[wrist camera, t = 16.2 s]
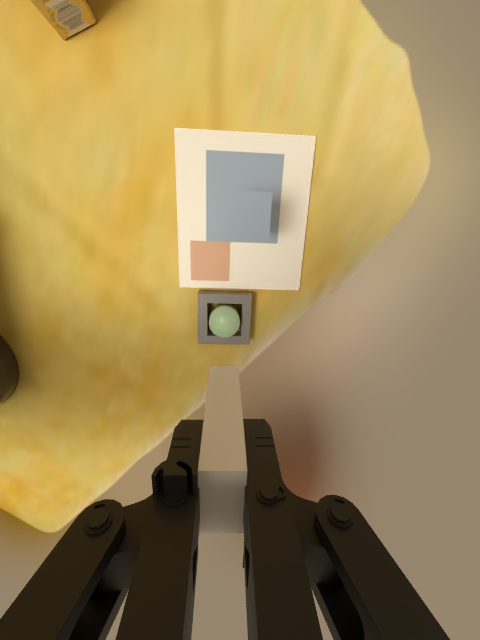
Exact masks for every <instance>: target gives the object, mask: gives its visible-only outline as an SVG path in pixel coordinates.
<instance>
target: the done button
mask: <svg viewBox="0 0 480 640" xmlns="http://www.w3.org/2000/svg"><path fill="white" fill-rule="evenodd" d="M239 326H240V319H239V313H238V310H237V309H236V308H235V307H234V306H233V305H231V304H226V303H220V304H218V305H216V306H215V307H214V308H213V309H212V311H211V313H210V318H209V327H210V329H211V331H212V332H213V333H214V334H215V335H217V336H219V337H230V336H232V335H234V334H235V333H236V332H237V331H238V329H239Z"/></svg>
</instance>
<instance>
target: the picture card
mask: <svg viewBox="0 0 480 640" xmlns="http://www.w3.org/2000/svg"><path fill="white" fill-rule="evenodd" d="M174 130H175V160H176V190H177V220H178V250H179V280H180V287H195V288H232V289H269V290H299V287H300V278H301V269H302V260H303V251H304V241H305V232H306V223H307V214H308V205H309V196H310V187H311V178H312V169H313V160H314V150H315V141H316V136H305V135H288V134H271V133H253V132H236V131H219V130H202V129H185V128H174ZM227 190H242V191H261V192H273V193H272V206H271V220H270V233H269V240H266V239H242V238H226V198H227Z"/></svg>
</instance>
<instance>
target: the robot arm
mask: <svg viewBox="0 0 480 640" xmlns="http://www.w3.org/2000/svg"><path fill="white" fill-rule="evenodd" d="M17 382H18V366H17V362H16V359H15V357H14V355H13V353H12V351H11V349H10V348H9V346H8V345H7V344H6V343H5V341H4V340H3V339H2V338H1V337H0V404H1V403H2V402H4V401H5V400H6V399H7V398H8V397H9V396H10V395H11V394H12V393H13V391H14V390H15V388H16V385H17ZM152 487H153V494H152V495H151V496H149V497H148V498H146V499H145V500H142V501H140V502H138V503H134V504H131V505H128V506H125V507H122V505H121V503H119V502H117V501H115V500H109V499H107V500H106V499H105V500H101V501H98V502H95V503H93V504H92V505H90V506H88V507H87V508H85V509H84V510H83V511H82V512H81V513H80V514H79V515H78V517H77V518H76V519H75V521H74V522H73V523H72V525H71V526H70V527H69V529H68V530H67V532H66V533H65V534H64V535H63V537H62V538H61V539H60V541H59V542H58V543H57V545H56V546H55V547H54V549H53V550H52V551H51V553H50V554H49V555H48V557H47V558H46V559H45V561H44V562H43V563H42V564H41V566H40V567H39V568H38V570H37V571H36V572H35V574H34V575H33V576H32V578H31V579H30V580H29V582H28V583H27V584H26V586H25V587H24V588H23V590H22V591H21V593H20V594H19V595H18V597H17V598H16V599H15V601H14V602H13V603H12V604H11V606H10V607H9V609H8V610H7V611H6V612H5V614H4V615H3V616H2V618H1V619H0V640H106V637H107V635H108V633H109V631H110V628H111V627H112V624H113V622H114V620H115V618H116V616H117V614H118V611H119V609H120V607H121V605H122V603H123V601H124V598H125V596H126V594H127V592H128V595H127V599H126V602H125V606H124V610H123V614H122V618H121V622H120V625H119V629H118V633H117V637H116V640H191V634H192V622H193V609H194V598H195V597H194V596H195V584H196V573H197V561H198V536H199V534H205V533H243V532H244V555H243V568H244V569H245V587H246V609H247V629H248V640H323V638H322V633H321V629H320V625H319V620H318V616H317V611H316V607H315V603H314V598H313V594H312V590H313V593H314V595H315V597H316V600H317V602H318V604H319V607H320V609H321V611H322V614H323V616H324V618H325V621H326V623H327V625H328V628H329V630H330V632H331V635H332V637H333V639H334V640H450V639H449V638H448V636H447V634H446V633H445V632H444V630H443V629H442V627H441V626H440V625H439V623H438V622H437V621H436V619H435V617H434V616H433V615H432V613H431V612H430V610H429V609H428V607H427V606H426V605H425V603H424V602H423V600H422V599H421V598H420V596H419V595H418V593H417V592H416V591H415V589H414V588H413V586H412V585H411V583H410V582H409V581H408V579H407V578H406V576H405V575H404V574H403V572H402V571H401V569H400V568H399V566H398V565H397V564H396V562H395V561H394V559H393V558H392V556H391V555H390V554H389V552H388V551H387V550H386V548H385V547H384V545H383V544H382V542H381V541H380V539H379V538H378V537H377V535H376V534H375V532H374V531H373V530H372V528H371V527H370V525H369V524H368V522H367V521H366V520H365V518H364V517H363V515H362V514H361V513H360V511H359V510H358V509H357V508H356V507H355V506H354V505H353V503H351V502H350V501H348V500H347V499H345V498H344V497H340V496H337V495H327V496H325V497H323V498H321V499H320V500H319V502H318V503H316V502H313V501H310V500H306V499H303V498H301V497H298V496H296V495H295V494H293V493H292V492H291V491H290V490H289V489H288V488H287V487H286V486H285V484H284V483H283V480H282V477H281V472H280V468H279V463H278V458H277V454H276V449H275V445H274V440H273V436H272V431H271V427H270V426H269V425H268V423H267V422H266V421H265V420H264V419H243V414H242V402H241V391H240V378H239V367H238V366H210V368H209V377H208V386H207V395H206V404H205V412H204V420H181V421H180V423H179V424H178V425H177V426H176V427H175V429H174V433H173V437H172V441H171V446H170V449H169V454H168V458H167V460H166V461H164V462H162V463H161V464H160V465H159V466H157V467H156V468H155V470H154V472H153V474H152ZM311 588H312V590H311ZM128 590H129V591H128Z"/></svg>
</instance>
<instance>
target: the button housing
mask: <svg viewBox="0 0 480 640" xmlns="http://www.w3.org/2000/svg"><path fill="white" fill-rule="evenodd" d="M208 303H226V304H241V328H240V331H237V332H236V333H235V334H234V335H232V336H230V337H219V336H217V335H215V334H214V333H213V332H212V331H211V330H208ZM251 305H252V294H251V292H247V291H209V290H199V292H198V344H249V342H250V324H251Z"/></svg>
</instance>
